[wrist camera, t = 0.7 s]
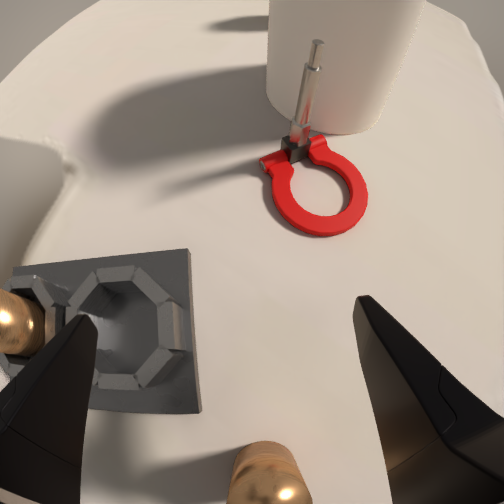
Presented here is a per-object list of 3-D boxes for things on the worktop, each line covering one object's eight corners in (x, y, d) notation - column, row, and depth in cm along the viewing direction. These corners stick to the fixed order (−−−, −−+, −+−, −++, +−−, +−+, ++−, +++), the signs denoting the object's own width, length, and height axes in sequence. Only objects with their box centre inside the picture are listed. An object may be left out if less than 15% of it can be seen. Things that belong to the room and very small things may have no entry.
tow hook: (380, 212, 25) (324, 137, 27) (457, 122, 13) (358, 30, 15) (304, 256, 24) (248, 168, 26) (358, 164, 11) (250, 48, 14)
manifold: (190, 253, 23) (162, 202, 15) (202, 410, 19) (173, 439, 11) (20, 270, 22) (-35, 240, 15) (19, 393, 18) (-44, 392, 11)
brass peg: (297, 486, 17) (314, 531, 10) (237, 493, 17) (231, 539, 10) (292, 437, 18) (310, 469, 12) (230, 443, 18) (220, 479, 12)
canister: (359, 155, 27) (433, -32, 8) (242, 101, 29) (236, -76, 10) (392, 92, 30) (440, -38, 12) (298, 51, 33) (312, -77, 14)
